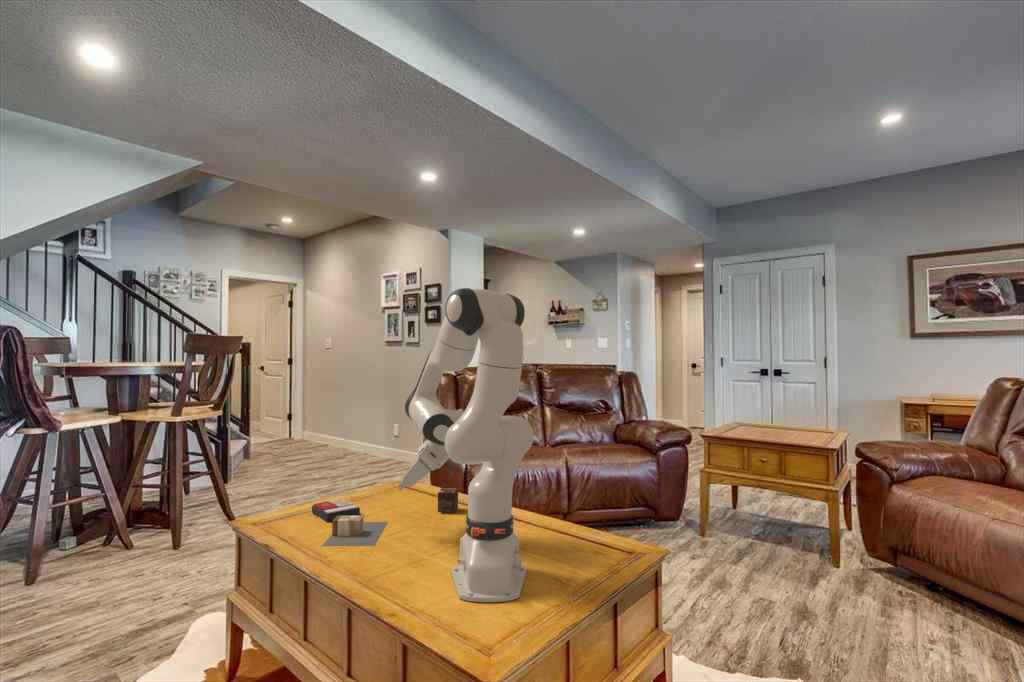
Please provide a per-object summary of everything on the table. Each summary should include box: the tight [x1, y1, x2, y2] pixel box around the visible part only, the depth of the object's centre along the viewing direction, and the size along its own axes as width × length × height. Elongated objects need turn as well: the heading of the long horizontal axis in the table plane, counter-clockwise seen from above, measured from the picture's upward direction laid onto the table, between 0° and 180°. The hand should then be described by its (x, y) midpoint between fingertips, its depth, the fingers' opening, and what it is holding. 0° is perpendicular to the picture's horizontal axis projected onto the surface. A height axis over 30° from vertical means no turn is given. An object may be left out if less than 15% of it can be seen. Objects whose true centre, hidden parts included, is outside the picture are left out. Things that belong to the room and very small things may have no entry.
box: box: [437, 487, 459, 514], centre depth 177 cm, size 6×6×7 cm
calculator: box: [311, 498, 361, 524], centre depth 171 cm, size 11×4×15 cm
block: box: [331, 515, 364, 536], centre depth 152 cm, size 4×4×8 cm
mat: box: [321, 521, 389, 547], centre depth 153 cm, size 20×15×1 cm
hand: (399, 488), depth 153 cm, fingers closed
